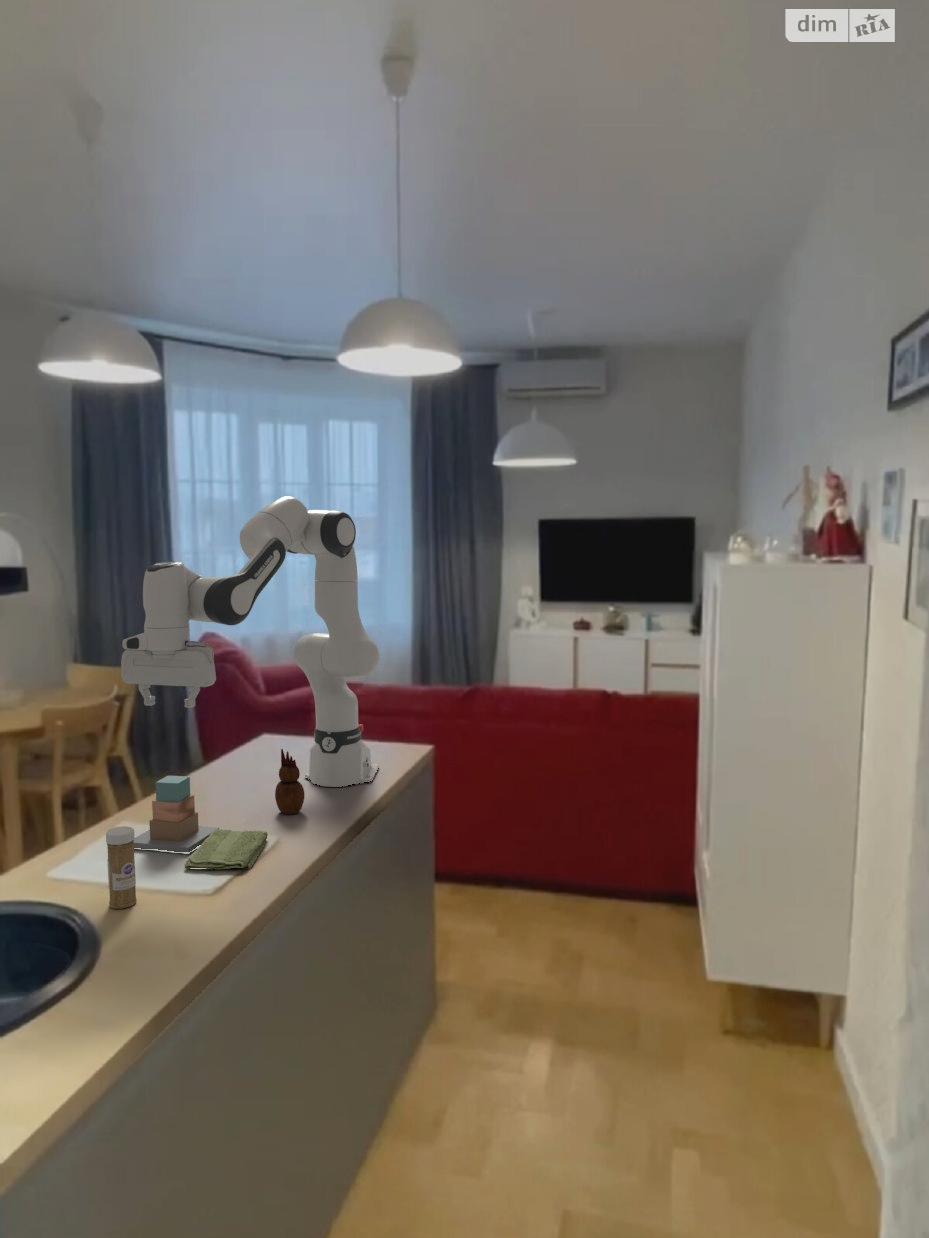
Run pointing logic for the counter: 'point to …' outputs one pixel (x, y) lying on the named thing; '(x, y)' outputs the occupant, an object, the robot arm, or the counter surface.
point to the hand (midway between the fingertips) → (169, 706)
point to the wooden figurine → (289, 787)
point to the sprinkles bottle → (121, 867)
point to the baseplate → (174, 845)
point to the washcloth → (228, 850)
